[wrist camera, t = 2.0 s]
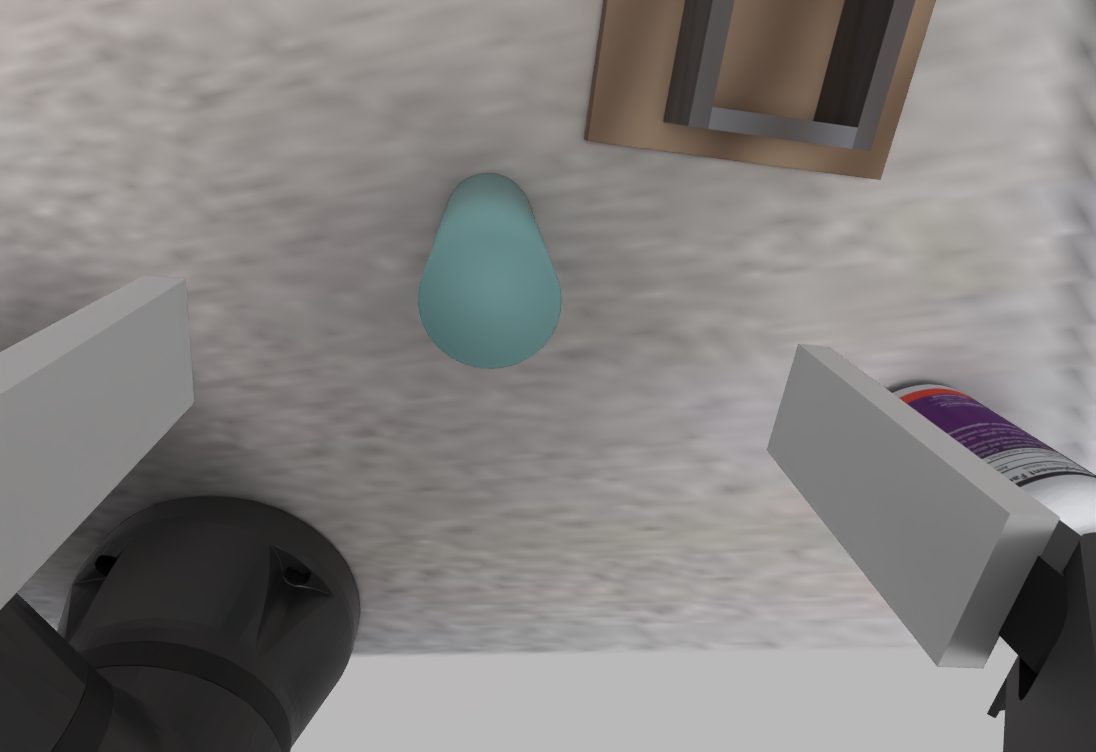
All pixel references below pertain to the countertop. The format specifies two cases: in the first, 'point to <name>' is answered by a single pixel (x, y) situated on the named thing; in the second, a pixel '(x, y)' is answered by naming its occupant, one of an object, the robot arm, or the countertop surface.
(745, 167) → the countertop surface
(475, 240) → the dowel
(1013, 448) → the pill bottle
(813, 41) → the bracket board
